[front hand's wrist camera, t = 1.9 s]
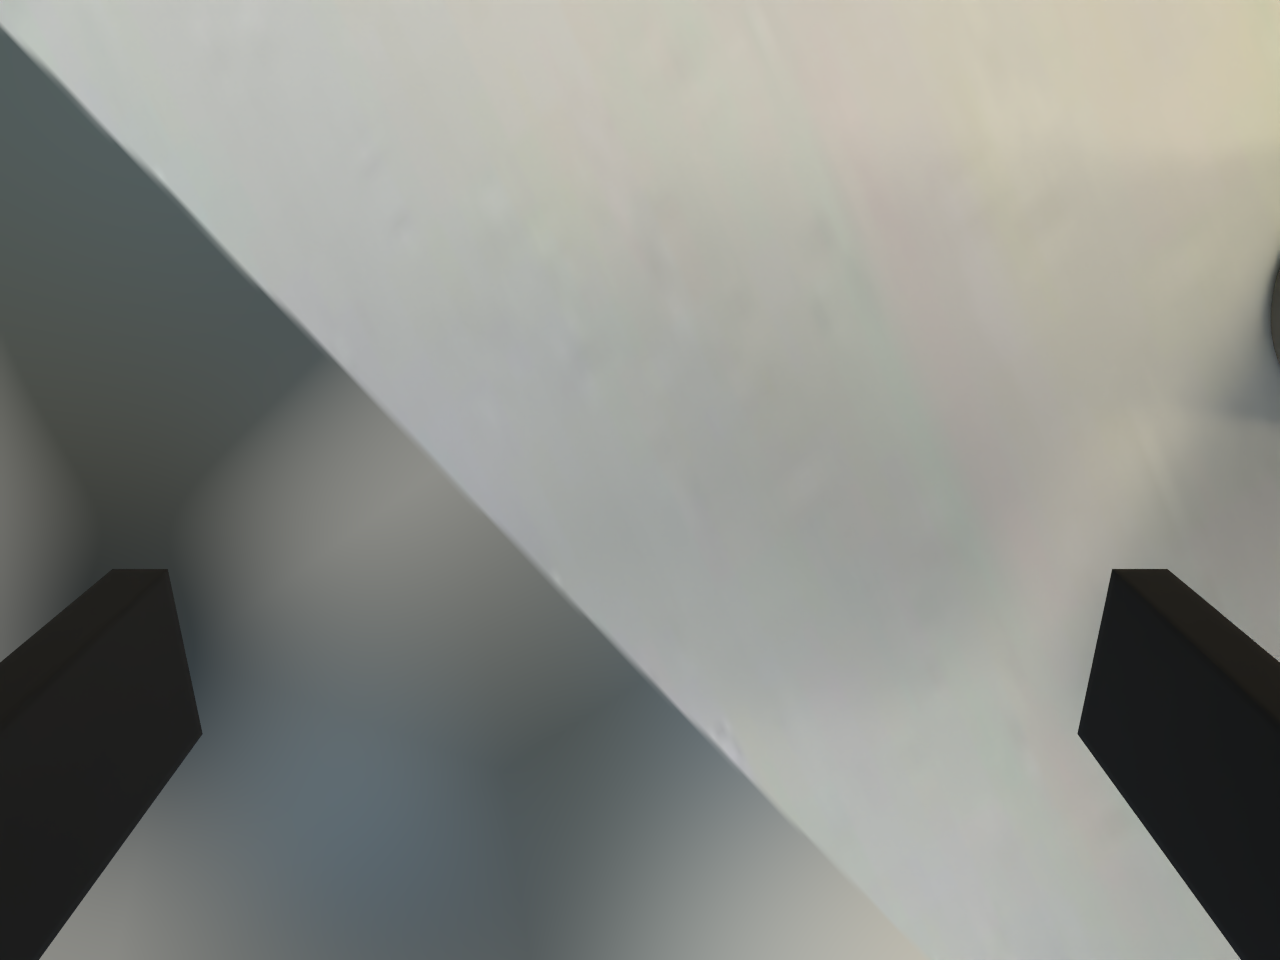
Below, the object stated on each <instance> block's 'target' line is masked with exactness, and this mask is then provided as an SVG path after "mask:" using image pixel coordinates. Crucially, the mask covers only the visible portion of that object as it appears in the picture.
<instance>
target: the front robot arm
mask: <svg viewBox="0 0 1280 960" xmlns="http://www.w3.org/2000/svg"><path fill="white" fill-rule="evenodd" d="M1271 328H1272V337H1273V343H1274V348H1275V352H1276V355H1277V358H1278V361H1279V363H1280V269H1279V272H1278V275H1277V279H1276V283H1275V288H1274V293H1273V300H1272V309H1271ZM201 735H202V730H201V725H200V720H199V715H198V711H197V706H196V701H195V696H194V692H193V687H192V682H191V677H190V673H189V668H188V663H187V658H186V654H185V649H184V644H183V640H182V635H181V630H180V625H179V621H178V616H177V611H176V607H175V602H174V597H173V592H172V587H171V583H170V578H169V573H168V569H112V570H111V571H110V572H108V573H107V574H106V575H105V576H104V577H103V578H101V579H100V580H99V581H98V582H96V583H95V584H94V585H93V586H92V587H90V588H89V589H88V590H87V591H86V592H84V593H83V594H82V595H81V596H80V597H78V598H77V599H76V600H75V601H74V602H72V603H71V604H70V605H69V606H68V607H66V608H65V609H64V610H63V611H62V612H60V613H59V614H58V615H57V616H56V617H54V618H53V619H52V620H51V621H50V622H48V623H47V624H46V625H45V626H44V627H42V628H41V629H40V630H39V631H38V632H36V633H35V634H34V635H33V636H32V637H30V638H29V639H28V640H27V641H26V642H24V643H23V644H22V645H21V646H20V647H18V648H17V649H16V650H15V651H14V652H12V653H11V654H10V655H9V656H8V657H6V658H5V659H4V660H3V661H2V662H0V960H39V959H40V957H41V956H42V955H43V953H44V952H45V951H46V949H47V948H48V946H49V945H50V944H51V942H52V941H53V940H54V938H55V937H56V935H57V934H58V933H59V931H60V930H61V928H62V927H63V926H64V924H65V923H66V921H67V920H68V919H69V917H70V916H71V915H72V913H73V912H74V911H75V909H76V908H77V906H78V905H79V904H80V902H81V901H82V900H83V898H84V897H85V895H86V894H87V893H88V891H89V890H90V888H91V887H92V886H93V884H94V883H95V882H96V880H97V879H98V877H99V876H100V875H101V873H102V872H103V871H104V869H105V868H106V866H107V865H108V864H109V862H110V861H111V859H112V858H113V857H114V855H115V854H116V853H117V851H118V850H119V848H120V847H121V846H122V844H123V843H124V842H125V840H126V839H127V837H128V836H129V835H130V833H131V832H132V830H133V829H134V828H135V826H136V825H137V824H138V822H139V821H140V819H141V818H142V817H143V815H144V814H145V813H146V811H147V810H148V808H149V807H150V806H151V804H152V803H153V801H154V800H155V799H156V797H157V796H158V795H159V793H160V792H161V790H162V789H163V788H164V786H165V785H166V784H167V782H168V781H169V779H170V778H171V777H172V775H173V774H174V773H175V771H176V770H177V768H178V767H179V766H180V764H181V763H182V761H183V760H184V759H185V757H186V756H187V755H188V753H189V752H190V750H191V749H192V748H193V746H194V745H195V744H196V742H197V741H198V739H199V738H200V737H201ZM1078 735H1079V737H1080V738H1081V739H1082V741H1083V742H1084V744H1085V745H1086V746H1087V748H1088V749H1089V750H1090V752H1091V753H1092V755H1093V756H1094V757H1095V759H1096V760H1097V761H1098V763H1099V764H1100V766H1101V767H1102V768H1103V770H1104V771H1105V773H1106V774H1107V775H1108V777H1109V778H1110V779H1111V781H1112V782H1113V784H1114V785H1115V786H1116V788H1117V789H1118V790H1119V792H1120V793H1121V795H1122V796H1123V797H1124V799H1125V800H1126V802H1127V803H1128V804H1129V806H1130V807H1131V808H1132V810H1133V811H1134V813H1135V814H1136V815H1137V817H1138V818H1139V819H1140V821H1141V822H1142V824H1143V825H1144V826H1145V828H1146V829H1147V830H1148V832H1149V833H1150V835H1151V836H1152V837H1153V839H1154V840H1155V842H1156V843H1157V844H1158V846H1159V847H1160V848H1161V850H1162V851H1163V853H1164V854H1165V855H1166V857H1167V858H1168V859H1169V861H1170V862H1171V864H1172V865H1173V866H1174V868H1175V869H1176V871H1177V872H1178V873H1179V875H1180V876H1181V877H1182V879H1183V880H1184V882H1185V883H1186V884H1187V886H1188V887H1189V888H1190V890H1191V891H1192V893H1193V894H1194V895H1195V897H1196V898H1197V900H1198V901H1199V902H1200V904H1201V905H1202V906H1203V908H1204V909H1205V911H1206V912H1207V913H1208V915H1209V916H1210V917H1211V919H1212V920H1213V922H1214V923H1215V924H1216V926H1217V927H1218V928H1219V930H1220V931H1221V933H1222V934H1223V935H1224V937H1225V938H1226V940H1227V941H1228V942H1229V944H1230V945H1231V946H1232V948H1233V949H1234V951H1235V952H1236V953H1237V955H1238V956H1239V957H1240V959H1241V960H1280V662H1278V661H1277V660H1276V659H1275V658H1274V657H1272V656H1271V655H1270V654H1269V653H1268V652H1266V651H1265V650H1264V649H1263V648H1262V647H1260V646H1259V645H1258V644H1257V643H1256V642H1254V641H1253V640H1252V639H1251V638H1250V637H1248V636H1247V635H1246V634H1245V633H1244V632H1242V631H1241V630H1240V629H1239V628H1238V627H1236V626H1235V625H1234V624H1233V623H1232V622H1230V621H1229V620H1228V619H1227V618H1226V617H1224V616H1223V615H1222V614H1221V613H1220V612H1218V611H1217V610H1216V609H1215V608H1214V607H1212V606H1211V605H1210V604H1209V603H1208V602H1206V601H1205V600H1204V599H1203V598H1202V597H1200V596H1199V595H1198V594H1197V593H1196V592H1194V591H1193V590H1192V589H1191V588H1190V587H1188V586H1187V585H1186V584H1185V583H1184V582H1182V581H1181V580H1180V579H1179V578H1178V577H1176V576H1175V575H1174V574H1173V573H1172V572H1170V571H1169V570H1168V569H1112V573H1111V578H1110V583H1109V587H1108V592H1107V597H1106V602H1105V606H1104V611H1103V616H1102V621H1101V625H1100V630H1099V635H1098V639H1097V644H1096V649H1095V654H1094V658H1093V663H1092V668H1091V673H1090V677H1089V682H1088V687H1087V692H1086V696H1085V701H1084V706H1083V710H1082V715H1081V720H1080V725H1079V729H1078Z"/></svg>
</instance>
